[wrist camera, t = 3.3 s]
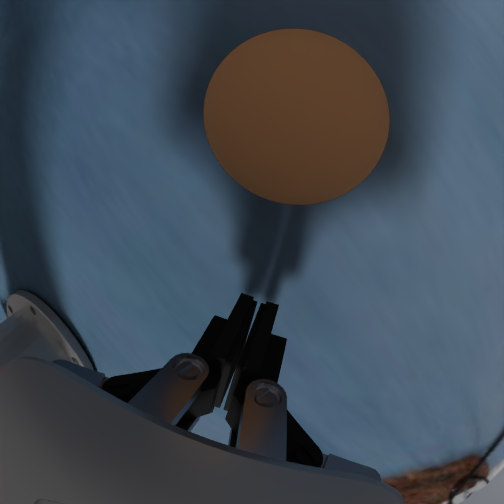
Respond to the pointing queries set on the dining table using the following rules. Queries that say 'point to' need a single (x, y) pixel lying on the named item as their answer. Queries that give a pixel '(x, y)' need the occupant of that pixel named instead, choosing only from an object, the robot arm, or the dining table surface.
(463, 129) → the dining table surface
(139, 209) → the dining table surface
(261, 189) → the ball
